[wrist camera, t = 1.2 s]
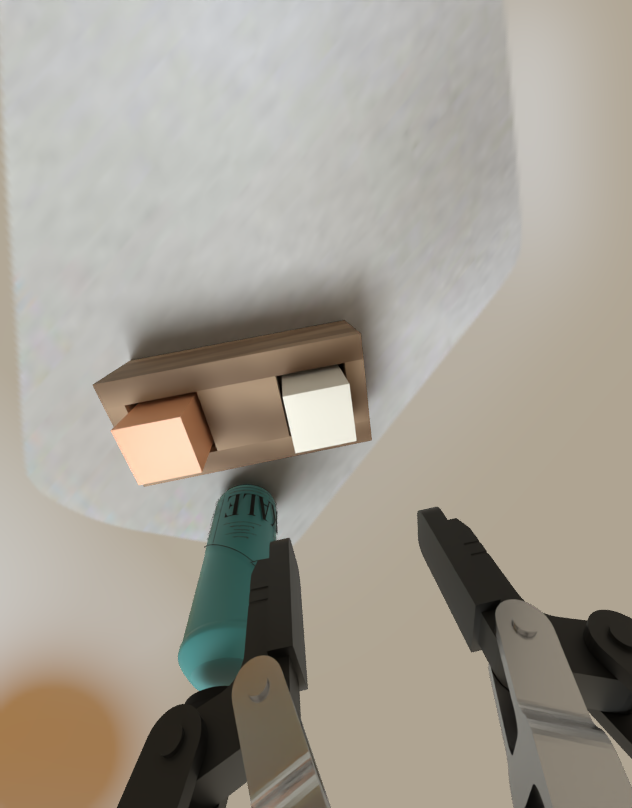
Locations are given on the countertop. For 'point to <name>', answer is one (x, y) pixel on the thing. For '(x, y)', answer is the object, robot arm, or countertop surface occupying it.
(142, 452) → the terracotta plug
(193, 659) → the beverage bottle
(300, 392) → the white plug
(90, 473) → the countertop surface
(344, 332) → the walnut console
